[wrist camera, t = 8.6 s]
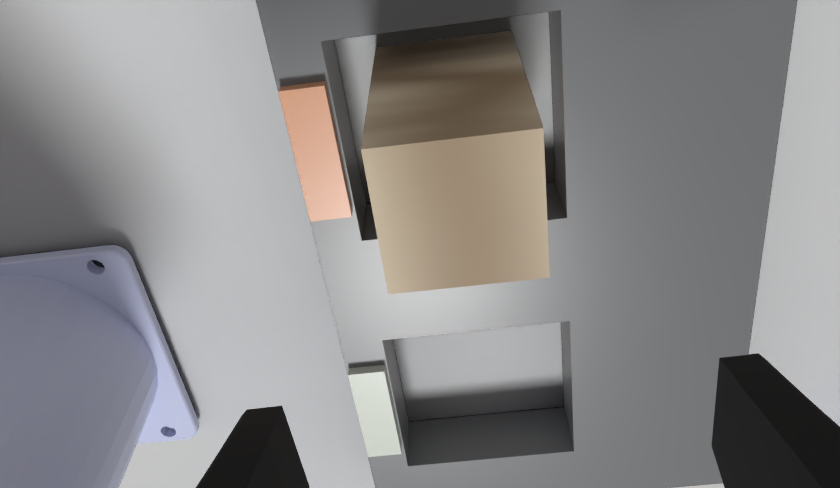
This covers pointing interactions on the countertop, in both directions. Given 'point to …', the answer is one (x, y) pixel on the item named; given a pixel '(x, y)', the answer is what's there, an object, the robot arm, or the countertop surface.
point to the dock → (567, 235)
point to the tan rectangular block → (455, 164)
